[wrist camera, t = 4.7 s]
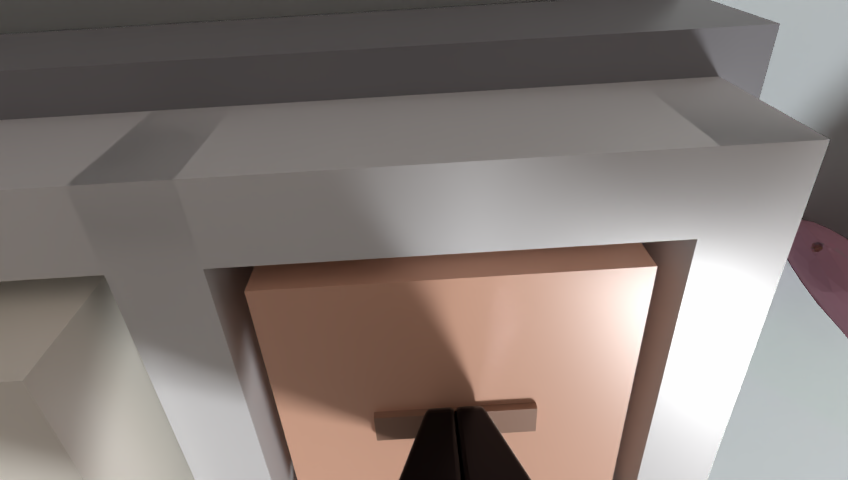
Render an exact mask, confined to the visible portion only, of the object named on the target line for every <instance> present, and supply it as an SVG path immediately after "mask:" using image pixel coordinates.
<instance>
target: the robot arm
mask: <svg viewBox="0 0 848 480" xmlns="http://www.w3.org/2000/svg"><path fill="white" fill-rule="evenodd" d="M399 480H531V479H530V477H529V475H528V474H527V472H526V471H525V469H524V468H523V466H522V465H521V463H520V462H519V460H518V459H517V457H516V456H515V454H514V453H513V451H512V450H511V448H510V447H509V445H508V444H507V442H506V440H505V439H504V437H503V436H502V434H501V433H500V431H499V430H498V428H497V427H496V425H495V424H494V422H493V421H492V419H491V418H490V416H489V415H488V413H487V412H486V410H485V409H484V408H483V407H481V406H464V407H458V408H457V409H456V410H455V411H454V410H453V409H452V408H450V407H447V408H431V409H428V410H427V411H426V413H425V415H424V417H423V419H422V422H421V425H420V427H419V430H418V432H417V435H416V437H415V440H414V442H413V445H412V447H411V450H410V453H409V455H408V458H407V460H406V463H405V465H404V468H403V470H402V473H401V475H400V478H399Z"/></svg>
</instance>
